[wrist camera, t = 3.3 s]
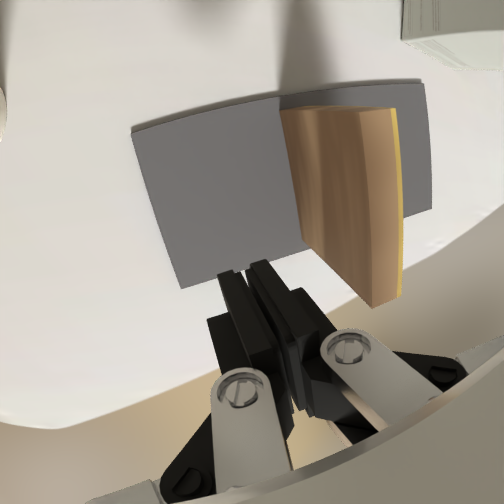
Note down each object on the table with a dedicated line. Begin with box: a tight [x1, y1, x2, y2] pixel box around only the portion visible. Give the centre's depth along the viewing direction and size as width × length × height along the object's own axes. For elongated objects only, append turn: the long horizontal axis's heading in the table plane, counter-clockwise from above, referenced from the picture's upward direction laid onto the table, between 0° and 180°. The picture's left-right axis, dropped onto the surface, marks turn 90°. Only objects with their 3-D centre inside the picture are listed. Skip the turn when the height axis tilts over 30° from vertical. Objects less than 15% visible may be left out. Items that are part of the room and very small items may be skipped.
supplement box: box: [402, 0, 504, 71], centre depth 14 cm, size 7×7×13 cm
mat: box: [131, 83, 432, 289], centre depth 23 cm, size 24×12×1 cm, turn 101°
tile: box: [279, 106, 403, 308], centre depth 18 cm, size 2×10×10 cm, turn 11°
